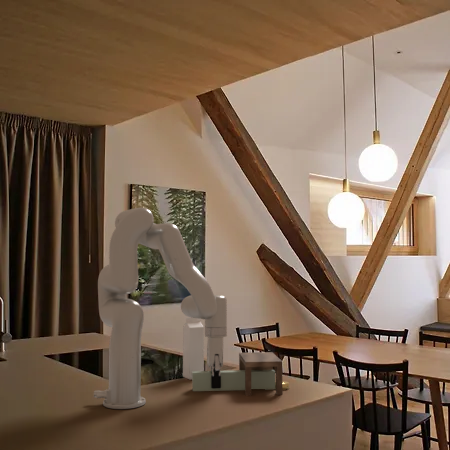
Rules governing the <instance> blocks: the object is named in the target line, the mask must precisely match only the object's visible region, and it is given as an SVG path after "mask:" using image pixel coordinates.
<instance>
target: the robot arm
mask: <svg viewBox="0 0 450 450" xmlns="http://www.w3.org/2000/svg"><path fill="white" fill-rule="evenodd" d="M154 222H155V221H154V215H153V213H152V211H151V210H149V209H148V208H145V207H136V208H131V209H126V210H123V211H121V212H119V213H118V214H117V216H116V218H115V221H114V227H115V228H114V231H113V232H112V234H111V237H110V240H109V249H108V250H109V252H108V253H109V257H108V259H109V260H108V261H109V262H108V264H107V265H105V266H104V267H103V268H102V269H101V270H100V272H99V275H98V279H97V295H98V297H97V298H98V313H99V314H98V315H99V317H100V320H101V321H102V322H103V324H104V325H106V326H107V327H110V328H111V331H110V337H109V345H108V353H109V354H108V355H109V357H108V361H109V362H108V366H109V367H108V388H107V389H105V390H94V391H93V398H96V399H103V401H102V402H103V403H102V405H103V407H105V408H108V409H114V410H127V409H134V408H135V409H136V408H140V407H142V406H143V405H145V404H146V398H145V397H143V396H141V389H142V388H141V386H142V385H141V383H142V382H141V375H142V373H141V372H142V371H141V369H142V368H141V367H142V366H141V365H142V364H141V363H142V357H141V356H142V332H143V327H144V320H145V316H144V315H145V312H144V310H143V307H142V306H141V304H140V303H139V302H138V301H136V300H134V299H131V298H128V296H127V295H129V294H132V293H133V292H134V291H136V290H137V288H138V285H139V266H138V265H139V264H138V246H139V244H140V245H142V246H144V247H147V248H149V249H152V250H159V253H160V255H161V257H162V260H163V262H164V265H165V267H166V270H167V273H168V274H169V275H170V276H171V277H172V278H173V279H175V281H177V282H179V283H180V284H182V286H184V287H185V289H187V291H188V293H189V294H190V295H188V296H186V297H184V298H183V299H182V301H181V303H180V310H181V312H182V313H183V315H184V316H186V317H188V318H198V319H201V320H204V338H205V337H206V338H207V341H206V342H207V343H206V353H207V354H206V365H207V367H208V368H210V371H212V376H211V388H221V376H220V371H221V368H222V367H223V366H224V338H226V337H227V336H228V335H227V334H228V333H227V332H228V331H227V330H228V322H227V320H228V318H227V317H228V316H227V315H228V314H227V313H228V312H227V311H228V310H227V309H228V308H227V307H228V306H227V305H228V304H227V298H226V296H225V295H218V294H216V295H215V294H214V291H213V290H212V287H211V285H210V283H209V281H208V279H206V277H205V276H204V275H203V274H202V273H201V271H200V270H199V269H198V268H197V267H196V266H195V264H194V263H193V260H192V259H191V255H190V253H189V251H188V248H187V246H186V243H185V241H184V239H183V236H182V234H181V231H180V229H179V228H178V226H177V225H175V224H174V223H171V222H170V223H169V222H167V223H166V222H165V223H154Z"/></svg>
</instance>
